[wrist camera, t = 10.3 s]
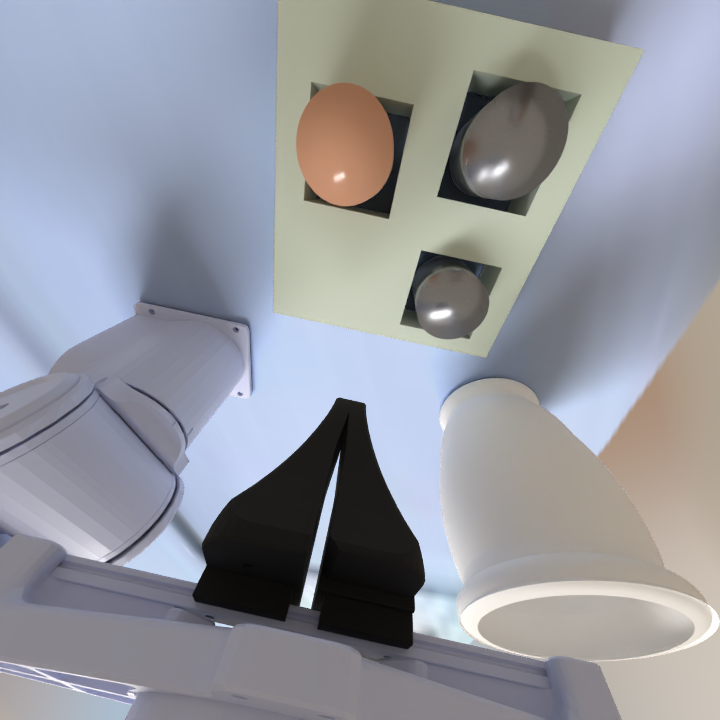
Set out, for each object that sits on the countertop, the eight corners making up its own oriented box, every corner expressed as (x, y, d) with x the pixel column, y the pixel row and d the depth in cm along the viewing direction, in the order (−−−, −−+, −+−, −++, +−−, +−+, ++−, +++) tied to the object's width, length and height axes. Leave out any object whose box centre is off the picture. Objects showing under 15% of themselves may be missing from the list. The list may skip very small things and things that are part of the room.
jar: (560, 358, 22) (783, 592, 9) (541, 447, 27) (669, 674, 15) (423, 372, 24) (456, 579, 11) (430, 452, 29) (459, 655, 17)
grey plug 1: (405, 304, 21) (408, 331, 17) (421, 249, 19) (429, 265, 15) (457, 316, 21) (472, 345, 17) (480, 262, 19) (502, 281, 15)
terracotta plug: (316, 193, 16) (293, 195, 12) (324, 102, 14) (299, 71, 10) (384, 207, 16) (381, 215, 12) (402, 119, 14) (405, 95, 10)
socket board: (287, 297, 22) (273, 312, 19) (299, 6, 14) (278, -35, 11) (475, 337, 22) (485, 357, 19) (598, 74, 14) (644, 49, 11)
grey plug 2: (439, 188, 17) (452, 190, 13) (465, 100, 15) (490, 71, 11) (504, 203, 17) (536, 208, 13) (539, 117, 15) (590, 94, 11)
